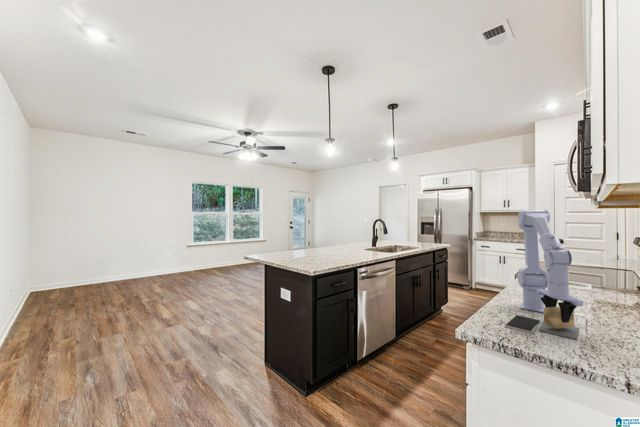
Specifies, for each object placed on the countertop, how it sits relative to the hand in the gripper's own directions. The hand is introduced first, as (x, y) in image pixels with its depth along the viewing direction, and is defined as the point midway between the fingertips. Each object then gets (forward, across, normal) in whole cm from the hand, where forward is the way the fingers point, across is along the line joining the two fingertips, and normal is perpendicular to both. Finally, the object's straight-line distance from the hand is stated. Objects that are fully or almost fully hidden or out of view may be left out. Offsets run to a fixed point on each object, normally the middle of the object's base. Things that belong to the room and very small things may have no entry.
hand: (558, 319), depth 96 cm
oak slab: (+2, 0, 0) cm, 2 cm away
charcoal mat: (+4, 0, 0) cm, 4 cm away
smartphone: (+4, +7, +8) cm, 11 cm away
